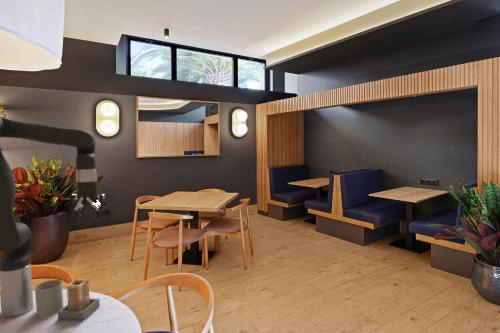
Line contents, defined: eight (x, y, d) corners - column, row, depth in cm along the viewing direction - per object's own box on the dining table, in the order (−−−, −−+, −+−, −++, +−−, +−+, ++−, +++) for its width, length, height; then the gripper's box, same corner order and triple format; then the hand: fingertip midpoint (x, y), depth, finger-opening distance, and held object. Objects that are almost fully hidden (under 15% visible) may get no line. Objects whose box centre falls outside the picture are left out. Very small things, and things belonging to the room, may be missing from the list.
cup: (49, 317, 108) (48, 291, 107) (31, 315, 109) (29, 289, 109) (68, 305, 116) (66, 280, 115) (50, 303, 117) (49, 279, 117)
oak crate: (81, 315, 107) (79, 285, 107) (68, 314, 108) (66, 285, 107) (90, 307, 112) (88, 279, 112) (77, 307, 113) (76, 279, 112)
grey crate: (83, 320, 105) (83, 312, 105) (58, 319, 106) (57, 311, 106) (99, 306, 115) (99, 298, 114) (76, 305, 115) (75, 298, 115)
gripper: (63, 181, 117) (66, 221, 118) (97, 181, 116) (100, 221, 117) (76, 179, 125) (78, 217, 126) (108, 179, 123) (110, 217, 124)
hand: (89, 219), depth 121 cm, fingers open, 8 cm apart
